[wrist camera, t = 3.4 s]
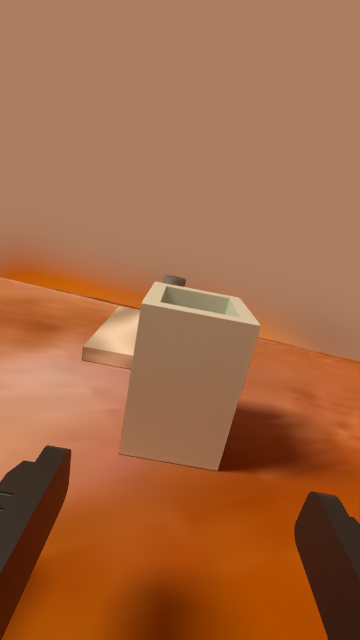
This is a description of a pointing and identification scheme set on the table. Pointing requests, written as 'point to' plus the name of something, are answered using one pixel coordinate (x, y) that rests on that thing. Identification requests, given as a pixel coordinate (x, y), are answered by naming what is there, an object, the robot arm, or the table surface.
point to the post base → (118, 335)
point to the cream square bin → (186, 375)
